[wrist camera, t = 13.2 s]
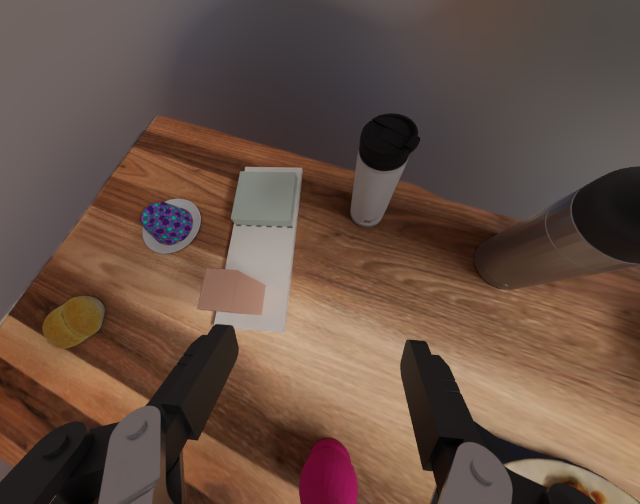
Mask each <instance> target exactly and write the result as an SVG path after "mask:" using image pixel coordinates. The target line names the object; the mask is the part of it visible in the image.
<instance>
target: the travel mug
mask: <svg viewBox="0 0 640 504" xmlns="http://www.w3.org/2000/svg"><path fill="white" fill-rule="evenodd" d="M419 141H420V138H419V137H418V130H417V127H416V125H415V123H414V122H413V121H412V120H411V119H409V118H408V117H406V116H403V115H400V114H383V115H379V116H377V117H375V118H373V119H372V121H370V122H369V123H368V124H366V125H365V126H364V128H363V130H362V133H361V137H360V145H359V149H358V156H357V164H356V171H355V179H354V187H353V194H352V202H351V210H350V215H351V218H352V220H353V221H354V222H355V223H356V224H357V225H359V226H361V227H373V226H375V225H377V224H378V223H379V222H380V221H381V220H382V217H383V215H384V213H385V211H386V208H387V206H388V204H389V202H390V199H391V197H392V195H393V193H394V190H395V188H396V186H397V184H398V181H399V179H400V177H401V174H402V172H403V170H404V168H405V165H406V163H407V161H408V158H409V156H410V153H411V152H412V151H414V150H415V149H416V147H417V146H418V144H419Z"/></svg>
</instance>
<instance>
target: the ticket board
mask: <svg viewBox="0 0 640 504" xmlns="http://www.w3.org/2000/svg"><path fill="white" fill-rule="evenodd" d="M302 173H303V171H302V168H284V167H245V171H240V176H239V181H238V186H237V190H236V195H235V200H234V205H233V210H232V215H231V220H232V221H233V222H234V226H233V231H232V237H231V242H230V247H229V252H228V257H227V262H226V267H225V269H229V270H238V271H240V272H242V273H244V274H246V275H247V276H249V277H251V278H253V279H255V280H257V281H259V282H260V283H262V284H264V285H266V287H265V294H264V301H263V308H262V315H253V314H239V313H229V312H219V311H217V312H216V317H215V322H214V325H215V324H224V325H232V326H233V327H234V329H244V330H257V331H270V332H282V333H284V332H285V328H286V319H287V310H288V301H289V292H290V283H291V274H292V264H293V255H294V246H295V237H296V228H297V219H298V210H299V201H300V192H301V182H302Z"/></svg>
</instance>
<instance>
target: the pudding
mask: <svg viewBox="0 0 640 504" xmlns="http://www.w3.org/2000/svg"><path fill="white" fill-rule="evenodd" d="M182 208H183V209H182ZM184 209H186V210H187V211H189V212H190V213H189V212H186V211H184ZM191 215H192V216H191ZM191 218H193V223H192V222H191ZM140 221H141V223H142V224H143V232H142V234H143V239H144V242H145V244H146V245H147V247H149V248H150V249H151V250H153V251H154V252H157V253H162V254H168V253H173V252H176V251H179V250H181V249H183V248H184V247H186V246H187V245H188V244H189V243H190V242H191V241H192V240H193V239H194V238H195V236H196V235H197V233H198V231H199V228H200V223H201V216H200V212H199V210H198V208H197V207H196V206H195V205H194V204H193V203H192V202H190V201H188V200H185V199H172V200H168V201H165V202H158V203H152V204H150V205H149V206H148V208H145V209H144V210H143V212H142V216H141V219H140ZM192 226H193V227H192ZM191 229H192V230H191ZM190 230H191V232H190V234H189V235H188V236H187V233H188V232H189V231H190ZM156 240H157V241H158V242H159V243H158V242H157V241H156ZM182 240H183V241H182ZM177 241H182V242H180V243H178V244H175V243H176V242H177ZM160 243H166V244H168V245H169V246H167V245H162V244H160ZM173 244H175V245H173Z"/></svg>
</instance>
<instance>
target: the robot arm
mask: <svg viewBox="0 0 640 504" xmlns="http://www.w3.org/2000/svg"><path fill="white" fill-rule="evenodd" d="M474 262H475V266H476V268H477V270H478V272H479V274H480V275H481V277H482V278H483V279H484V280H485V281H486V282H488V283H489V284H491V285H493V286H495V287H497V288H500V289H505V290H512V289H518V288H524V287H529V286H535V285H540V284H546V283H551V282H556V281H562V280H567V279H572V278H578V277H583V276H588V275H594V274H599V273H604V272H609V271H614V270H619V269H625V268H630V267H635V266H640V167H629V168H623V169H619V170H616V171H613V172H611V173H608V174H606V175H604V176H602V177H600V178H598V179H596V180H595V181H593V182H591V183H589V184H587V185H586V186H584V187H582V188H580V189H579V190H577V191H575V192H573V193H571V194H569V195H568V196H566V197H564V198H562V199H561V200H559V201H557V202H555V203H554V204H552V205H550V206H548V207H546V208H544V209H542V210H541V211H539V212H537V213H535V214H533V215H532V216H530V217H528V218H526V219H524V220H522V221H521V222H519V223H517V224H515V225H513V226H511V227H510V228H508V229H506V230H504V231H502V232H500V233H498V234H497V235H495V236H493V237H491V238H489V239H488V240H486V241H484V242H483V243H481V244H480V245H479V246H478V248H477V250H476V252H475V256H474ZM238 350H239V348H238V343H237V339H236V335H235V330H234V327H233V326H232V325H224V324H215V325H214V326H213V327H212V329H211V330H210V332H209V333H208V335H202V336H200V337H199V338H198V339H197V340H195V341H194V342H193V343H192V344H191V345H190V346H189V348H188V349H187V351H186V352H185V353H184V356H182V357H181V359H180V360H179V362H178V363H177V365H176V366H175V367H174V368H173V370H172V371H171V372H170V374H169V375H168V377H167V378H166V379H165V381H164V382H163V383H162V385H161V386H160V388H159V389H158V390H157V392H156V393H155V394H154V396H153V397H152V399H151V400H150V401H149V402H148V404H147V405H146V406H144V407H141V408H138V409H136V410H134V411H133V412H131V413H130V414H128V415H127V416H126V417H125V418H123V419H122V420H121V421H120V422H117V423H113V424H109V425H105V426H101V427H97V428H93V429H88V428H87V427H86V426H85V424H84V423H82V422H71V423H67V424H65V425H62V426H60V427H58V428H57V429H55V430H53V431H52V432H50V433H49V434H47V435H46V436H45V437H44V438H42V439H41V440H40V441H39V442H38V443H37V444H36V445H35V446H34V447H33V448H32V449H31V450H30V451H29V452H28V453H27V454H26V455H25V456H24V458H23V459H22V460H21V461H20V462H19V463H18V464H17V465H16V466H15V467H14V468H13V469H12V470H11V471H10V472H9V473H8V475H7V476H6V477H5V478H4V479H3V480H2V481H1V482H0V504H49V503H50V502H51V500H52V499H53V498H54V496H55V495H56V497H55V498H54V500H53V501H52V502H51V504H186V495H185V479H184V463H183V451H182V449H183V447H184V445H185V443H186V441H187V439H190V440H198V439H199V437H200V435H201V433H202V431H203V429H204V426H205V424H206V422H207V420H208V418H209V416H210V414H211V412H212V410H213V408H214V406H215V404H216V401H217V399H218V397H219V395H220V393H221V391H222V389H223V387H224V385H225V383H226V381H227V378H228V376H229V374H230V372H231V370H232V368H233V366H234V364H235V362H236V359H237V356H238ZM400 370H401V377H402V382H403V386H404V390H405V395H406V399H407V403H408V408H409V412H410V416H411V421H412V425H413V429H414V434H415V438H416V442H417V447H418V451H419V455H420V460H421V464H422V468H423V470H426V471H433V474H434V477H435V481H436V486H435V489H434V492H433V495H432V498H431V500H430V503H429V504H597V503H595V502H594V501H593V500H592V499H591V498H590V497H588V496H587V495H586V494H584V493H583V492H581V491H580V490H578V489H576V488H574V487H572V486H570V485H567V484H564V483H555V484H553V485H551V486H550V487H549V488H547V487H545V486H543V485H541V484H539V483H536V482H534V481H532V480H530V479H528V478H526V477H524V476H521V475H519V474H517V473H515V472H513V471H511V470H510V469H508V468H507V467H505V466H504V465H503V464H502V463H501V462H500V461H499V459H498V458H497V457H496V456H495V455H494V454H493V453H492V452H490V451H489V450H488V449H487V447H486V446H485V444H484V443H483V441H482V439H481V437H480V435H479V432H478V430H477V428H476V426H475V423H474V421H473V419H472V417H471V414H470V412H469V410H468V408H467V406H466V403H465V401H464V399H463V397H462V394H460V390H459V388H458V385H457V383H456V382H455V379H454V376H453V374H452V372H451V370H450V367H449V366H448V365H447V364H446V363H445V361H444V360H443V359H442V358H441V357H440V356H439V355H431V352H430V349H429V347H428V344H427V343H426V341H419V340H406V343H405V347H404V351H403V355H402V359H401V364H400Z"/></svg>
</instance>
